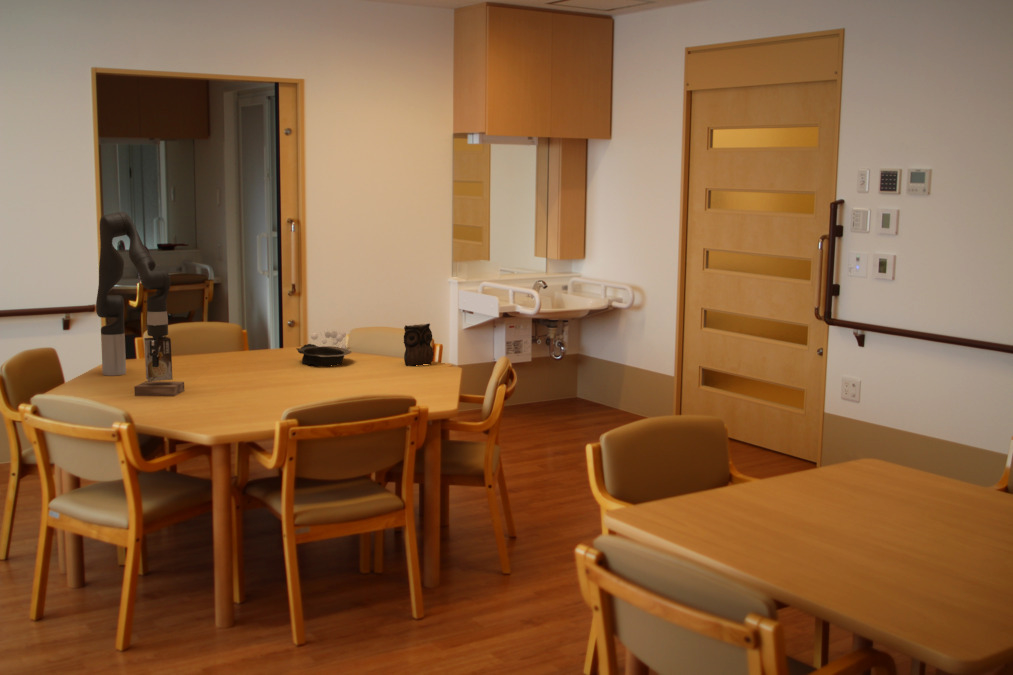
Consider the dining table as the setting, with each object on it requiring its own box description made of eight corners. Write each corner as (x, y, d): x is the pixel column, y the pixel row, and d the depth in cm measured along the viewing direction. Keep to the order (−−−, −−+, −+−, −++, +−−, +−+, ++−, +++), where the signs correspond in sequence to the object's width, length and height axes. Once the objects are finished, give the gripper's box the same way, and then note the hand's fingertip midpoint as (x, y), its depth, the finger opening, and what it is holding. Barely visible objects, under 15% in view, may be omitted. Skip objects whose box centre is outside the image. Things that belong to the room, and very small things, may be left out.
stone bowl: (285, 366, 447) (285, 346, 446) (328, 360, 466) (328, 341, 465) (319, 372, 431) (319, 351, 430) (363, 366, 450) (362, 346, 449)
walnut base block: (146, 391, 383) (145, 381, 383) (184, 391, 383) (184, 381, 383) (134, 396, 371) (134, 386, 371) (174, 397, 372) (174, 387, 371)
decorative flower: (305, 354, 489) (305, 326, 487) (350, 354, 491) (350, 326, 489) (298, 361, 464) (298, 332, 462) (346, 361, 466) (346, 332, 464)
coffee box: (170, 377, 382) (169, 336, 380) (172, 380, 376) (171, 338, 374) (145, 378, 378) (144, 337, 376) (147, 381, 372) (146, 339, 370)
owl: (434, 365, 454) (434, 322, 451) (424, 369, 442) (425, 325, 439) (409, 364, 457) (409, 321, 455) (398, 368, 445) (398, 324, 443)
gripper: (152, 320, 381) (154, 362, 383) (141, 325, 367) (143, 368, 369) (172, 321, 381) (173, 362, 383) (162, 325, 367) (163, 368, 369)
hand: (158, 365), depth 376 cm, fingers closed on coffee box, 8 cm apart
